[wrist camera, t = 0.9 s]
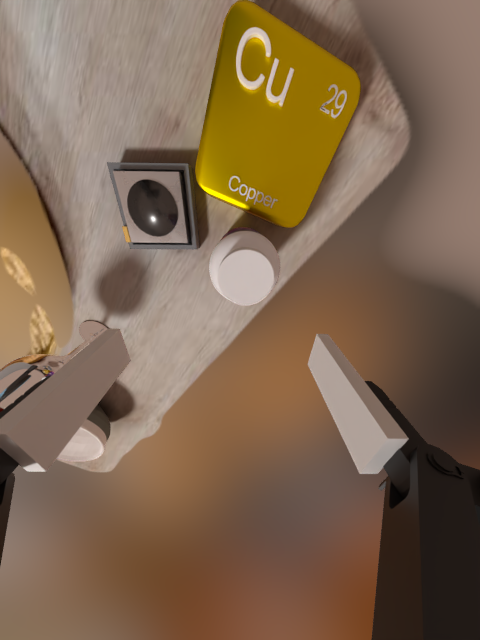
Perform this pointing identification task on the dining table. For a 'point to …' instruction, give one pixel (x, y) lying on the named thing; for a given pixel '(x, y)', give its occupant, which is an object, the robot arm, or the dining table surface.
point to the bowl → (88, 438)
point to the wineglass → (39, 366)
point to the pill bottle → (244, 266)
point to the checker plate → (154, 206)
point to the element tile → (272, 116)
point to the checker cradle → (190, 200)
